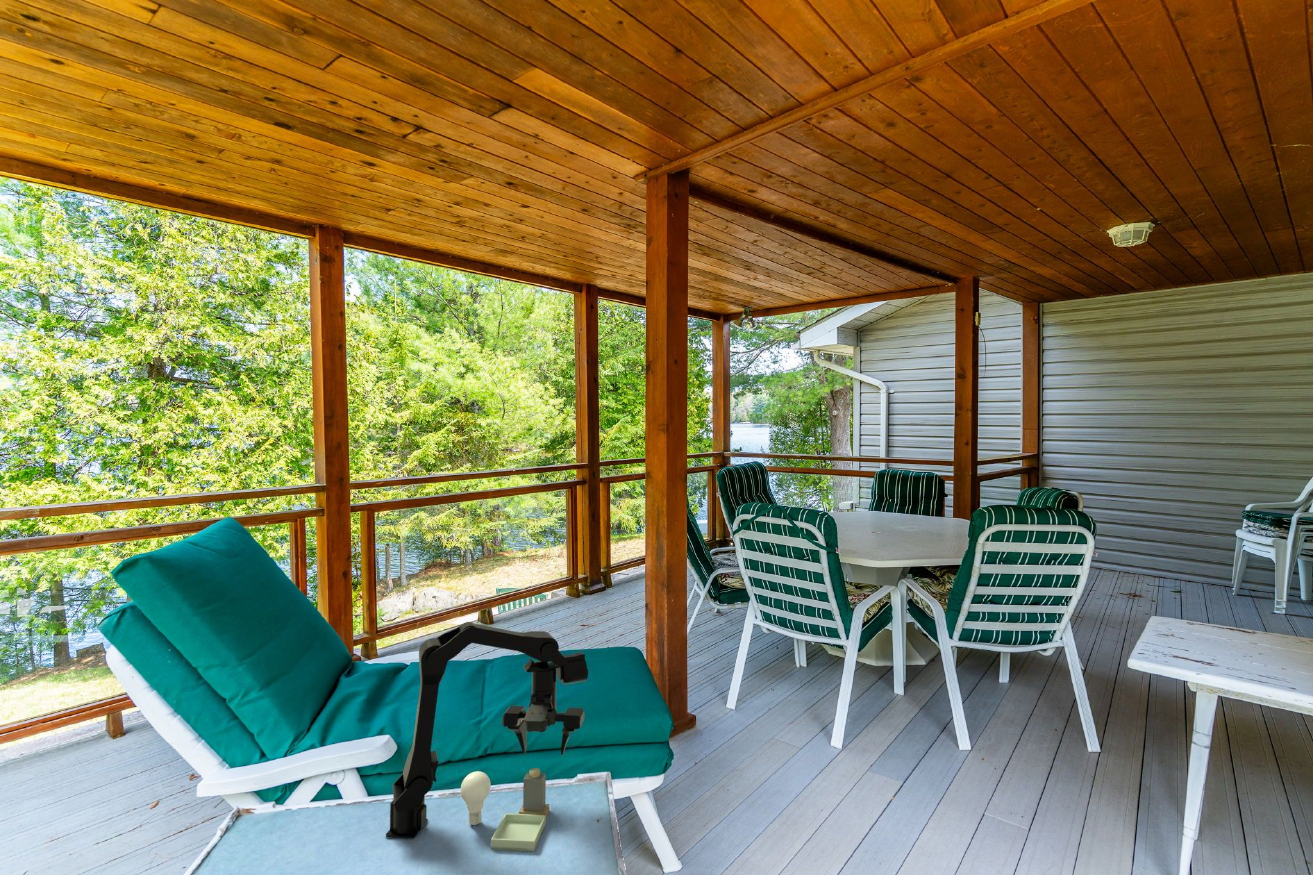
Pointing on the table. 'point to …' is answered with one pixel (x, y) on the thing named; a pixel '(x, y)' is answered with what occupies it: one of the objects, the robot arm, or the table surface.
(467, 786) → the lightbulb
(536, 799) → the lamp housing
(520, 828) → the tray
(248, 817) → the table surface
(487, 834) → the table surface
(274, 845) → the table surface
